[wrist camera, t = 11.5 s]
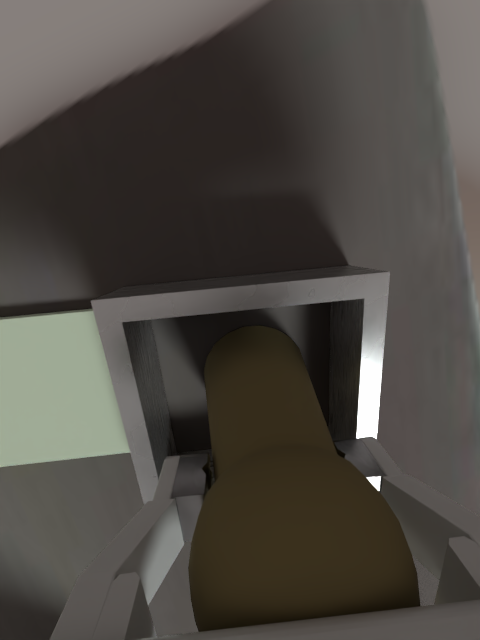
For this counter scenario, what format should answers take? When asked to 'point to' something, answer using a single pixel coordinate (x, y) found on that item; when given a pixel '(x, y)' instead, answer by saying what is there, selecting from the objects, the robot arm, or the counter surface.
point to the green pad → (56, 390)
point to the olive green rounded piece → (286, 502)
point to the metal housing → (236, 295)
